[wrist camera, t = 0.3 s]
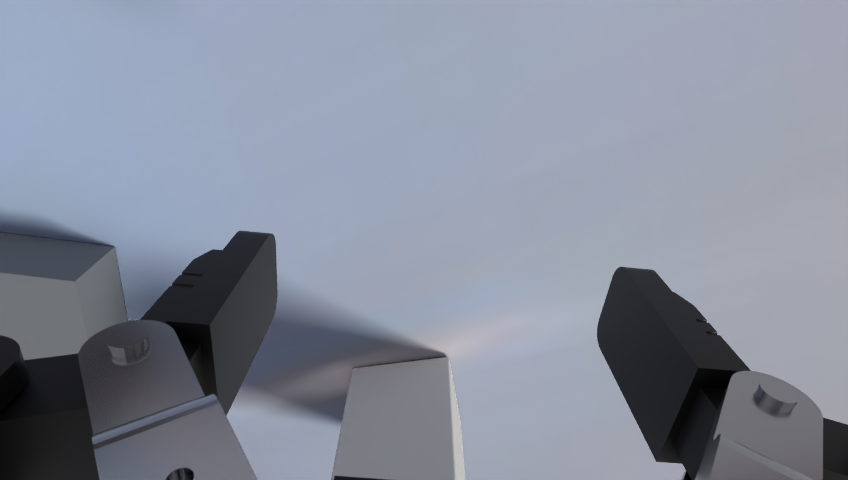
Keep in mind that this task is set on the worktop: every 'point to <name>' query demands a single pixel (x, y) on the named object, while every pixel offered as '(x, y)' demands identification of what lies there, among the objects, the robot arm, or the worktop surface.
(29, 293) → the gray square block
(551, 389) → the worktop surface
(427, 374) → the milk carton
